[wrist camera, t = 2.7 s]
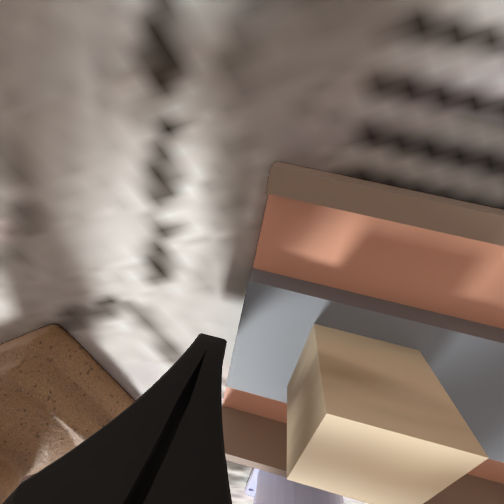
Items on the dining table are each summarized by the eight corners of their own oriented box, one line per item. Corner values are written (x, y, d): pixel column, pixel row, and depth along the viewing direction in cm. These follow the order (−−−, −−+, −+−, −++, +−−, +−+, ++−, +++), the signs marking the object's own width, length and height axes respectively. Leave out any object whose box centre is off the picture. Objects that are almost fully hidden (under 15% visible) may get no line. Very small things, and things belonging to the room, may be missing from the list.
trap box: (524, 491, 16) (571, 561, 13) (222, 407, 17) (209, 454, 15) (894, 293, 8) (1204, 367, 5) (276, 161, 9) (270, 165, 6)
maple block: (373, 409, 12) (407, 514, 9) (287, 386, 13) (286, 479, 9) (419, 350, 10) (488, 457, 7) (313, 323, 11) (326, 413, 7)
